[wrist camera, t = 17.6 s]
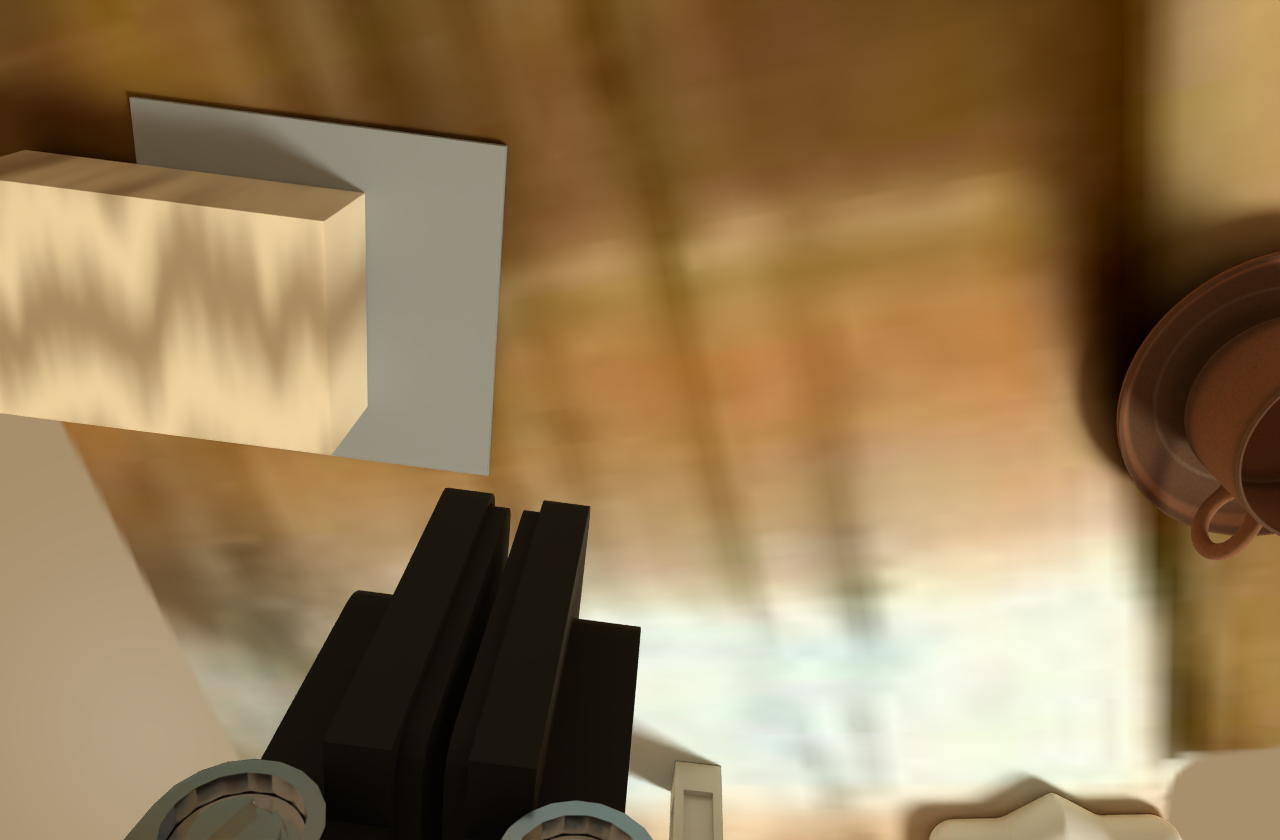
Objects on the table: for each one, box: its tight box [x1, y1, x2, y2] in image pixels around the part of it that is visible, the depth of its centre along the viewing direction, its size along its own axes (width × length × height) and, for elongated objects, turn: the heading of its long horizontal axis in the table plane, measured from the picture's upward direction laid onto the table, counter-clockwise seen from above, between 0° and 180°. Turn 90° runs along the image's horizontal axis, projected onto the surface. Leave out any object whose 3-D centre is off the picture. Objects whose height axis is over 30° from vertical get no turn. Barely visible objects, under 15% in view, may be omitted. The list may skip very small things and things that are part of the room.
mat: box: [129, 96, 507, 476], centre depth 38 cm, size 14×14×1 cm
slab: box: [0, 150, 368, 455], centre depth 36 cm, size 9×4×13 cm
